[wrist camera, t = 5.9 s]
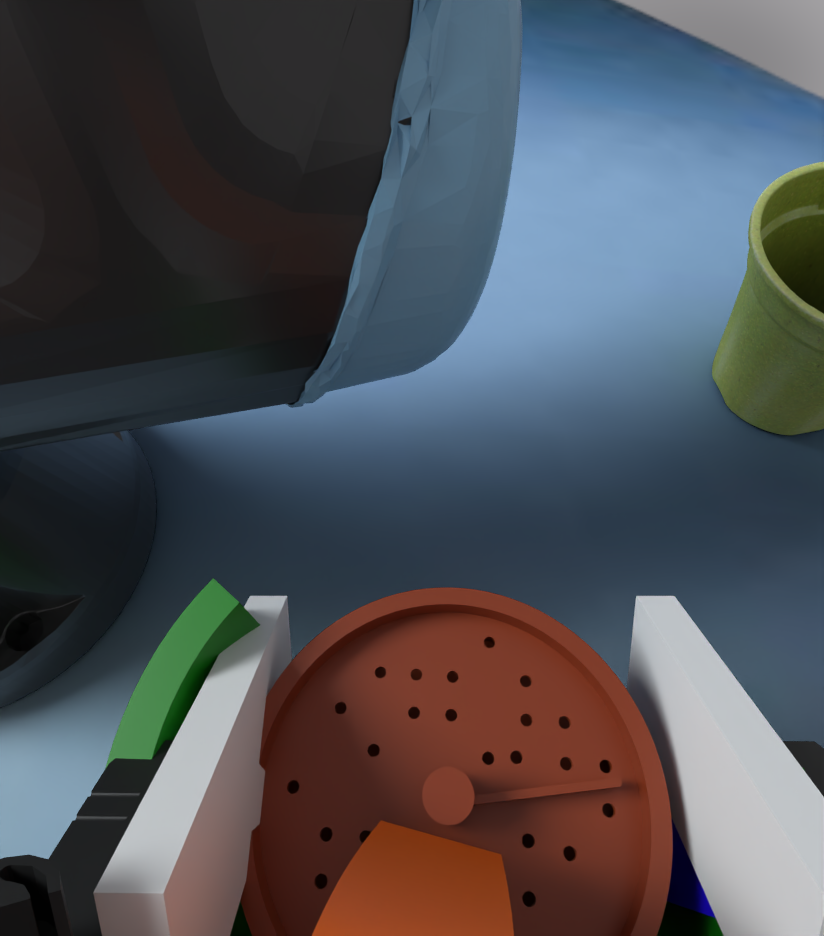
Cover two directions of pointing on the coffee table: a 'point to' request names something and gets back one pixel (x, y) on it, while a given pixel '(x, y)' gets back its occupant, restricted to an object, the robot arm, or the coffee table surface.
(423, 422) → the coffee table surface
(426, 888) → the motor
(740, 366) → the plant pot
